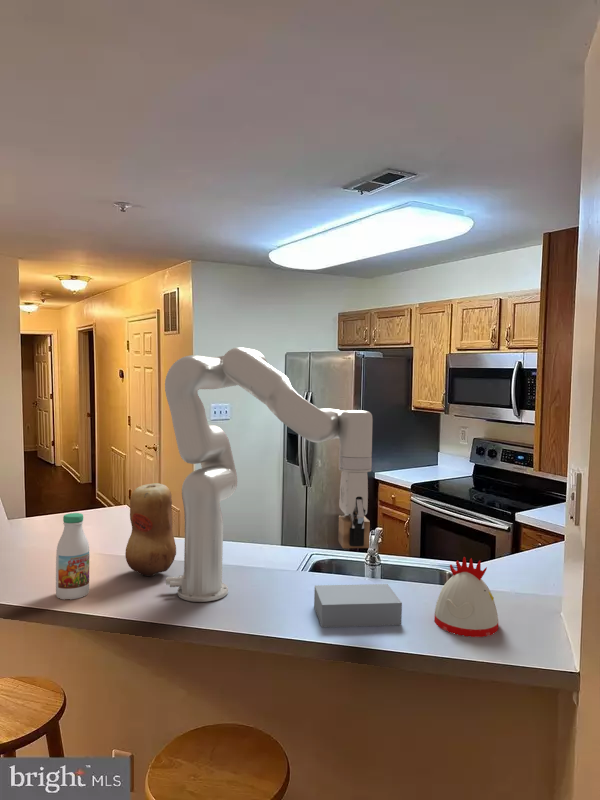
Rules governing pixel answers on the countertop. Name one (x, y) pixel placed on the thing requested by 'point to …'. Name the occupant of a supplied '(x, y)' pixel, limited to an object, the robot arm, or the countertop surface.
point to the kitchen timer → (466, 603)
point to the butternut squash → (151, 530)
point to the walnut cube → (345, 532)
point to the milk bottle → (72, 559)
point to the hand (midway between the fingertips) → (353, 540)
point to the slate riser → (357, 605)
